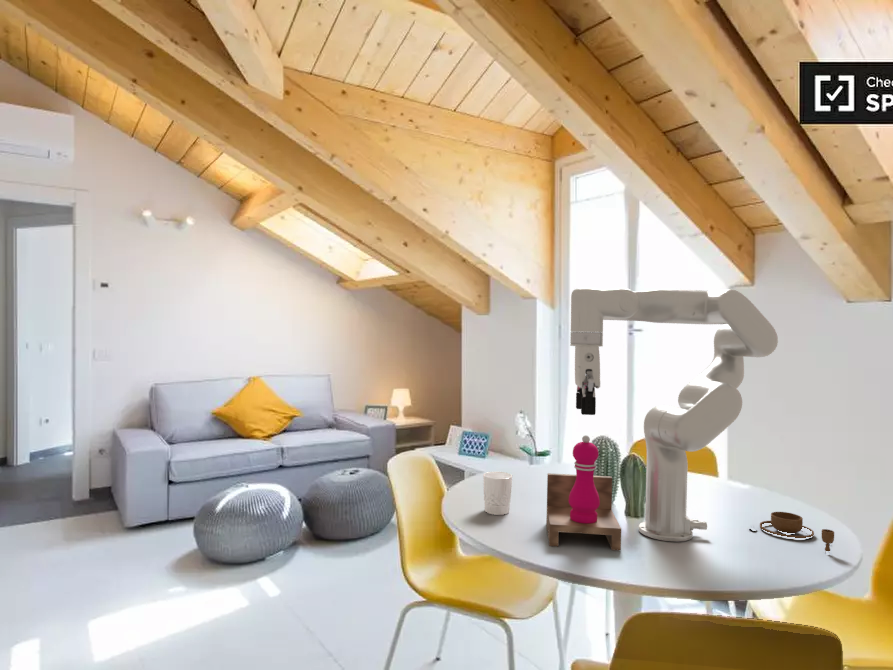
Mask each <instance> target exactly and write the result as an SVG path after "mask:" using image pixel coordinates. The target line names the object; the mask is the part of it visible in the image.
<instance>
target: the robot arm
mask: <svg viewBox="0 0 893 670" xmlns="http://www.w3.org/2000/svg"><path fill="white" fill-rule="evenodd" d="M570 296H571V297H570V345H569V346H571V347H574V350H575V351H574V383H575V385H576V393H575V408H576V410H580V413H581V415H584V416H586V415H588V416H589V415H590V416H595V415H596V410H597V408H596V407H597V404H596V402H597V397H596V389H597V390H598V389H599V388H601V359H600V355H601V354H600V347H603V346H604V343H603V341H604V321H623V322H624V321H627V322H628V321H632V322H645V323H646V322H647V323H654V324H677V325H678V324H683V325H685V324H687V325H688V324H689V325H722V326H719V328H718V329H717V330H716V332H715V334H714V336H713V352H714V353H713V359H712V361H711V363H710V364H709V365H708V366H707V367H706V368H705V369H704V370H703V371H702V372H701V373H699V374H698V375H697V376H696V377H695V378H693V379H692V380H691V381H690V382H689V383H688V384H686V385H684V387H683V388H682V390H681V391H680V392H679V394H678V397H677V402H678V406H679V407H678V406H672V405H665V404H663V405H657V406H654V407H652V408H651V409H650V410H649V411H648V412H647V413H646V414H645V417H644V421H643V434H644V439H645V448H646V471H645V472H646V473H645V476H646V477H645V514H644V515H645V516H644V517H645V521H642V522H640V523H639V524H638V531H639V532H640V533H641V534H642V535H644V536H646V537H649V538H650V539H654V540H659V541H665V542H673V543H674V542H675V543H676V542H686V541H689V540H691V539H693V536H694V535H693V533H694V532H693V530H694V529H695V530H701V531H702V530H703V531H706V530H707V529H708V524H707V523H708V522H707V521H699V519H698V518H697V519H696V518H689V517H688V516H687V509H688V508H687V503H688V502H687V501H688V469H689V468H688V464H689V463H688V458H687V452H692V453H693V452H697V451H700V450H702V449H704V448H705V447H707V446H708V445H709V444H710V443H711V442H712V441H714V440H715V439H716V438H717V437H719V436H720V435H721V434H722V433H723V432H724V431H725V430H726V429H728V427H730V426H731V425H732V424H733V423H734V422H735V421H736V420H737V419H738V417H739V416H740V413H741V411H742V409H743V397H742V395H741V392H740V391H739V390H738V388H739V387H740V385H741V384H742V382H743V380H744V377H745V363H744V361H745V360H744V357H747V358H765V357H768V356H770V355H772V354H773V353H774V352H775V350H776V349H777V347H778V343H779V340H778V334H777V333H778V332H777V331H776V329H775V327H774V326H773V325H772V324H771V322H770V321H769V320H768V319H767V318H766V317H765V316H764V314H763V313H761V311H760V310H759V309H758V308H757V307H756V306H755V304H754V303H753V302H752V301H751V300H750V299H749V298H748V297H747V296H745V294H743V293H742V292H740V291H739V290H737V289H733V288H732V289H730V288H729V289H718V290H717V289H716V290H697V289H694V290H693V289H681V288H680V289H677V288H661V289H659V288H658V289H651V290H641V291H633V290H632V289H629V288H626V287H617V288H616V287H615V288H610V289H609V288H607V289H606V288H605V289H601V288H596V287H580V288H576V289H575V288H574V290H572V291H571V295H570Z"/></svg>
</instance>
